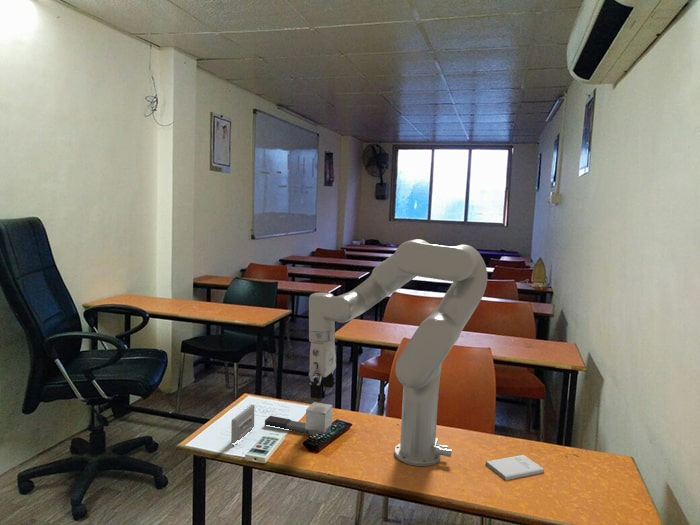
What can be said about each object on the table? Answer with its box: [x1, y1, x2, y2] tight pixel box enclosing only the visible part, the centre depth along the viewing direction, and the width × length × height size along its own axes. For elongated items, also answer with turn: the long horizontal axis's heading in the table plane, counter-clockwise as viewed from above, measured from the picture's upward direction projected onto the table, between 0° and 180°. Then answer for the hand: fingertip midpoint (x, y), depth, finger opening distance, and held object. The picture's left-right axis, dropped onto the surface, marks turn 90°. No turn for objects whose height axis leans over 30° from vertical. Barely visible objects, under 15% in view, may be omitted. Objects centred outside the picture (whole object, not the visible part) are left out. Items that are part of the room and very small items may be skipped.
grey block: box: [305, 401, 333, 433], centre depth 147 cm, size 6×6×6 cm
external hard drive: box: [485, 454, 545, 481], centre depth 131 cm, size 2×8×12 cm
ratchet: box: [264, 415, 331, 438], centre depth 149 cm, size 20×7×6 cm, turn 71°
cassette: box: [230, 404, 255, 444], centre depth 143 cm, size 12×2×8 cm, turn 163°
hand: (322, 392), depth 146 cm, fingers open, 9 cm apart
